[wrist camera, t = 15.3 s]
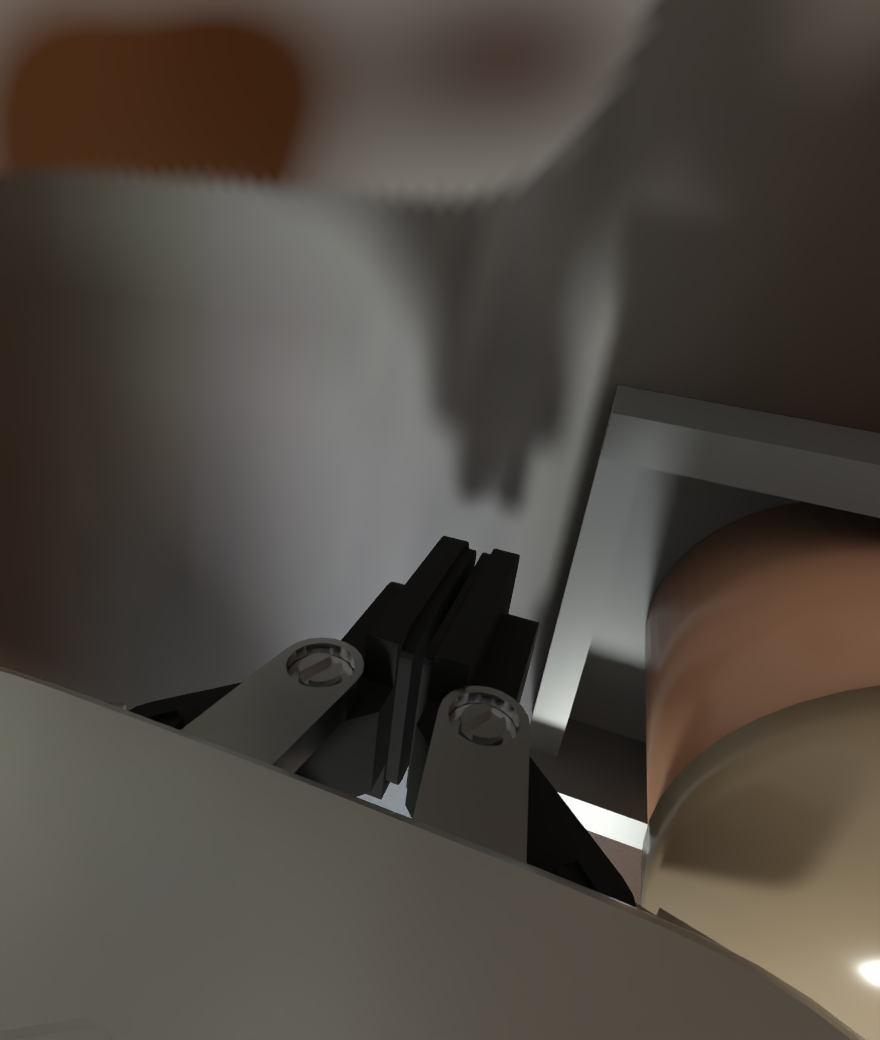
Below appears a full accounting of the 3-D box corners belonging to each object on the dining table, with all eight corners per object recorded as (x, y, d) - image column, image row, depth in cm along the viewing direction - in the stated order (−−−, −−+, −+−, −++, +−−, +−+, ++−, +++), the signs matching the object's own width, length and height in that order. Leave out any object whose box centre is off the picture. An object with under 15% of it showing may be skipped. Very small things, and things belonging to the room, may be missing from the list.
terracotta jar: (608, 723, 15) (587, 1037, 9) (690, 461, 12) (746, 653, 6) (927, 820, 13) (1186, 1299, 7) (1116, 541, 10) (1868, 948, 4)
